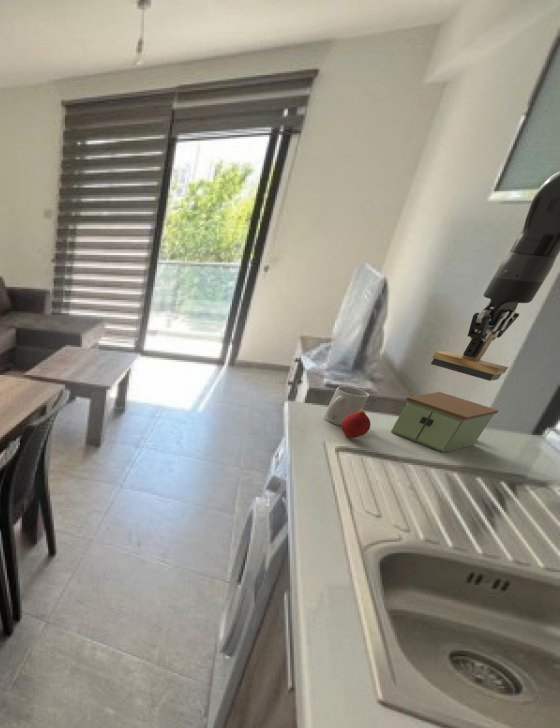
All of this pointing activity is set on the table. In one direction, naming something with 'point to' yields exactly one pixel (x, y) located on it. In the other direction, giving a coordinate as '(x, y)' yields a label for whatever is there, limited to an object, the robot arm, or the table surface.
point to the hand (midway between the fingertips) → (472, 355)
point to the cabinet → (442, 421)
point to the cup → (345, 403)
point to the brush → (470, 363)
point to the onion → (355, 424)
